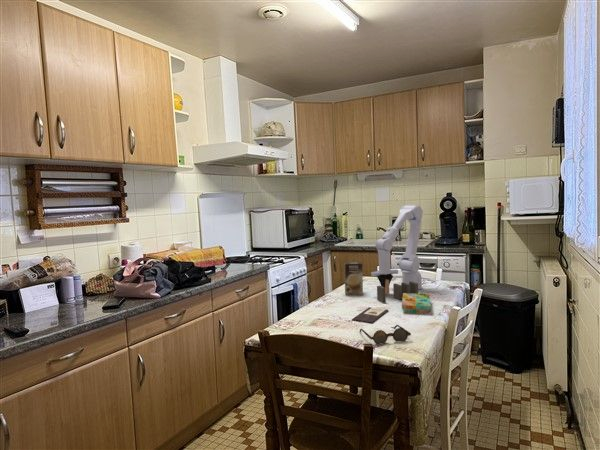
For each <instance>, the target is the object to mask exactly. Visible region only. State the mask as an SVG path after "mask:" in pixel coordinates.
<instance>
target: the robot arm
mask: <svg viewBox="0 0 600 450" xmlns="http://www.w3.org/2000/svg"><path fill="white" fill-rule="evenodd" d="M423 214H424V210H423V209H422V206H421V205H420V204H419V205H418V204H416V205H413V204H412V205H411V204H410V205H404V204H403V205H402V206H401V208H400V209H399V214H398V216H397V217H396V219H395V221H394V222H393V224H392V226H389V227H387V228H386V231H385V233H384V234H383V235H382V236H381V238H379V239H377V241H376V244H375V248H376V250H377V253H378V255H377V256H378V270H376V271H371V272H370V277H372V278H373V277H374V278H375V277H377V279H378V281H379V284H380V286H382V287H385V280H386V279H388V280H389V286H390V284H391V281H392V279H393V278H394V275H398V274H399V270H400V272H401V276H402V277H401V279H402V280H401V283H403V282H404V283H407V284H409V282H411V281H412V282H415V283H418V290H423V286H422V283H423V281H422V273H421V272H420V271H419V270H420V266H421V265H420V264H421V263H420V258H419V256H417V252H418V251H417V250H418V245H419V239H420V233H421V229H422V228H421V227H422V218H423ZM406 222H408V223H409V224H410V225H409V230H408V234H407V235H408V236H407V242H406V247H405V252H404V253H403V254H402V255H401V257H400V260H399V262H398V267H399V269H391V250H392V249H393V244H394V241H395V239H396V238H397V237H398V235H399V230H400V229H401V227H402V226H403V225H404V223H406Z"/></svg>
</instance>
